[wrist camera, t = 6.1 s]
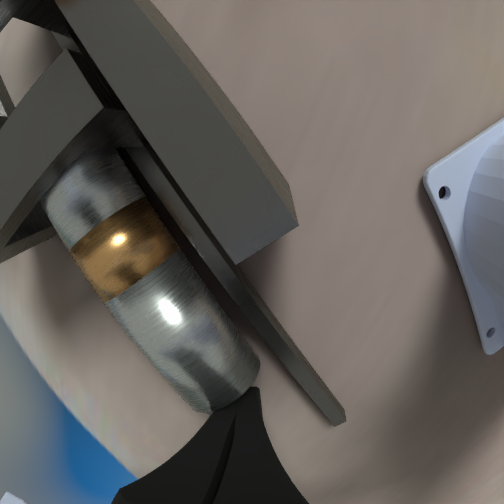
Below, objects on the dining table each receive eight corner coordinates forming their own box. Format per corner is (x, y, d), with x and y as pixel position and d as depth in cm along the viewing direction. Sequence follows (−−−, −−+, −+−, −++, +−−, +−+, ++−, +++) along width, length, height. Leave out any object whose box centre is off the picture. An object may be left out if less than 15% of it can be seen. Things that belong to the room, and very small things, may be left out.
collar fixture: (405, 378, 13) (453, 497, 6) (237, 450, 15) (219, 558, 9) (89, -68, 7) (11, -128, 1) (-32, 64, 10) (-123, 60, 3)
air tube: (269, 344, 12) (244, 406, 9) (208, 362, 14) (177, 415, 11) (96, 79, 10) (28, 83, 7) (54, 132, 11) (-6, 147, 8)
